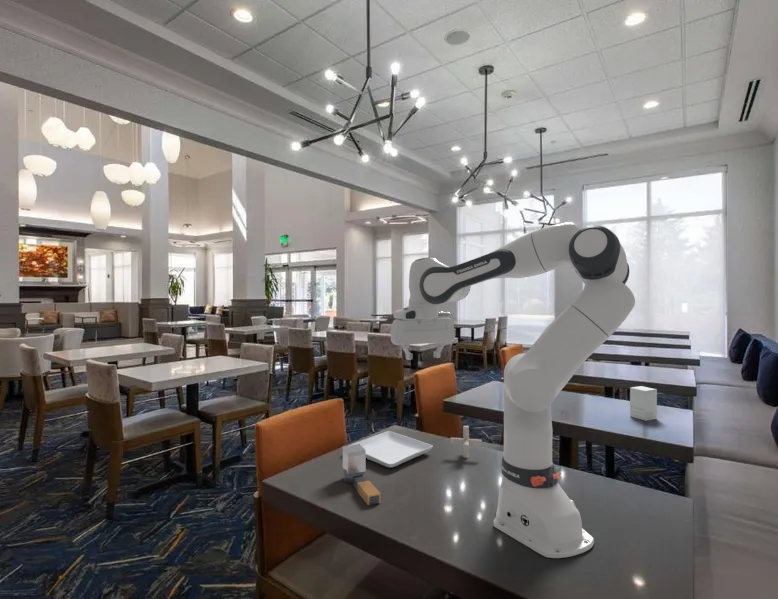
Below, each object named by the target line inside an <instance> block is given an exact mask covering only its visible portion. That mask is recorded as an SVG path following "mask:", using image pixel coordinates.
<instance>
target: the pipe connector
mask: <svg viewBox="0 0 778 599" xmlns="http://www.w3.org/2000/svg"><path fill="white" fill-rule="evenodd" d="M462 429H463V430H462V431H463V432H462V433H463V437H450V444H456V445H457V444H458V445H462V450H463V451H462V457H463V458H464V459H469V457H470V446H471V445H472V446H482V444H483V443H482V442H483V440H482V439H476V438H470V426H469V425H463V427H462Z"/></svg>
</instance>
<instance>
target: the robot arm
mask: <svg viewBox="0 0 778 599" xmlns="http://www.w3.org/2000/svg"><path fill="white" fill-rule="evenodd" d="M619 239H620V238H618V236H617V235H616V234H615V232H613V231H612V230H610V229H609V228H607V227H605V226H601V225H594V224H593V225H588V226H585V227H583V228H581V227H579V226H578V225H577V224H576V223H573V222H562V223H558V224H553V225H549V226H545V227H543V228H540V229H537V230H534V231H531V232H529V233H527V234H525V235H523V236H520V237H518V238H516V239H514V240H513V241H511V242H509V243H507V244H504V245H503V246H501V247H499V248H497V249H495V250H493V251H491V252H489V253H487V254H483V255H481V256H478V257H475V258H473V259H470V260H468V261H465V262H461V263H460V264H459V263H458V264H457V265H454V266H448V265H446V264H444V263H442V262H441V261H439V260H438V259H437V258H435V257H421V258H418V259H415V260H414V261H413V262H411V265H410V268H409V274H408V276H409V277H408V290H409V299H408V306H406V307H403V308H400V309H397V310H395V311H394V312H393V318H394V320H393V321H392V323H391V328H390V341H391V343H392V344H393V345H395V346H401V348H402V350H403V351H404V354H405V360H407V361H411V360H413V357H414V356H413V353H411V352H410V350H409V349H410V345H425V344H436V346H437V348H436V350H435V351H433V358H437V359H439V358H441V356H442V355H441V354H442V351H443V349H444V347H445V343H452V342H454V340H455V337H456V336H455V335H456V334H455V326H454V323H455V322H454V319H455V318H454V315H453V314H452V313H450V312H449V311H445V312H444V311H439V305H440V304H445V303H446V304H447V303H455V302H460V301H461V300H464V299H465V298H466V297H467V296H468V294H469V293H470V291H471V286H474V285H477V284H480V283H482V282H483V283H484V282H486V281H490V280H494V279H522V278H523V279H524V278H530V277H535V276H539V275H542V274H545V273H549V272H551V271H554V270H556V269H559V268H563V267H565V268H566V267H570V268H572V269H574V270H575V273H576V274H577V276H578V277H579V278H580V279H581V281H582V282H583V283H584V287H583V290H582V291H581V292H580V293H579V295H578V296H577V297H576V298H575V299H574V300H572V302H571V303H570V304H568V305H567V307H565V309H564V310H562V311H561V312H560V314H559V315H558V316H557V317H556V318H554V319H553V320H552V321H551V322H550V324H549V325H547V327H545V329H544V330H543V332H542V333H541V335H539V337H538V338H537V339H536V340H535V341H534V343H533V344H532V345H531V346H530V348H529V349H528V350H527V351H526V352H523V353H518V354H516V355H514V356H512V357H511V358H510V359H509V360H508V361H507V363H506V364H505V366H504V370H503V456H502V457H501V463H500V467H501V475H502V480H501V484H500V487H499V491H498V498H497V506H496V507H497V509H496V512H495V518H494V519H493V524H492V525H493V527H495V529H497V530H498V531H501V533H505V535H507V536H509V537H511V538H512V539H514V540H516V541H517V542H519V543H520V544H523V545H524V546H525V547H528V548H530V549H531V550H533V551H534V552H536V553H537V554H539V555H541V556H543V557H545V558H548V559H549V558H551V559H561V558H562V559H563V558H569V557H575V556H577V555H580V554H581V555H582V554H584V553H586V552H587V551H589V550H591V548H593V546H594V543H595V540H594V539H595V538H594V536H592V535H591V534H590V533H588V532H587V531H586V530H585V529H584V528H583V524H582V518H581V513H580V511H579V509H578V508H577V507H576V504H575V501H574V500H572V499H570V497H569V496H568V494H567V493H566V491H564V489H563V488H562V486H561V485H560V483H559V479H560V478H562V476H560V475H562V472H556V467H555V464H554V461H553V421H552V407H551V406H552V403H553V402H554V400H555V398H556V397H557V395H558V394H560V392H562V390H563V388H565V387H566V385H567V384H568V382H569V381H570V380H571V379H572V378H573V376H574V375H575V374H576V373H577V370H579V368H580V367H581V365H583V364H584V362H586V360H587V359H588V358H589V357H590V356H592V355H593V354H594V353H595V351H597V349H599V348H600V347H601V346H602V345H603V344H604V343H605V342H606V341H607V340H608V339H609V338H610V337H611V336H612V335H613V334H614V333H615V332H616V331H617V329H619V328H620V326H621V325H622V324H623V323H624V321H625V320H627V318H628V316H629V315H630V313H631V312H632V310H633V309H634V307H635V304H636V298H635V295H634V293H633V291H632V290H631V289H630V287H628V286H627V284H626V283H628V279H629V277H630V265H629V263H628V259H627V255H626V252H625V249H624V247H623V245H622V244H621V242H620V240H619Z"/></svg>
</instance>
